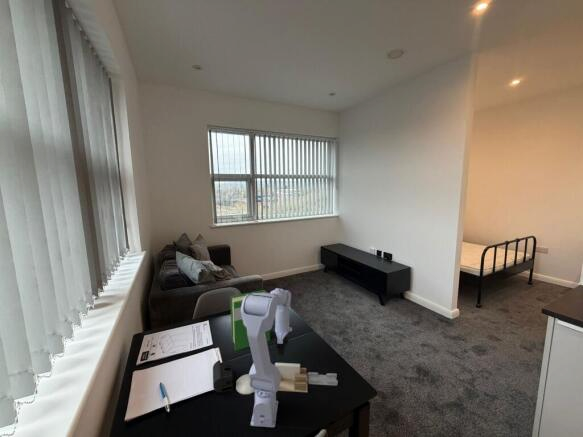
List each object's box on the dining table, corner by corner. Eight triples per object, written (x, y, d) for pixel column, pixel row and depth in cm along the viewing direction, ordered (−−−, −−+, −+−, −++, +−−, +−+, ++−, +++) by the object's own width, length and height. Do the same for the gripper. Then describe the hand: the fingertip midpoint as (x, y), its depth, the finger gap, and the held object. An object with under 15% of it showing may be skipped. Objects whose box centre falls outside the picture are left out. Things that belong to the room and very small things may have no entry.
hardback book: (235, 350, 116) (233, 302, 113) (231, 341, 122) (230, 296, 119) (269, 340, 123) (269, 295, 120) (264, 332, 130) (264, 289, 127)
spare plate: (256, 396, 91) (256, 393, 91) (232, 394, 92) (232, 391, 91) (261, 377, 100) (261, 374, 100) (239, 376, 101) (239, 373, 100)
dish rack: (307, 393, 92) (307, 385, 91) (265, 391, 93) (265, 382, 92) (307, 375, 101) (307, 367, 100) (269, 373, 102) (269, 365, 101)
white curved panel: (299, 379, 98) (299, 366, 97) (274, 377, 98) (274, 365, 97) (299, 376, 99) (299, 363, 98) (275, 374, 100) (275, 362, 99)
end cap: (213, 376, 100) (212, 361, 99) (230, 372, 102) (230, 357, 101) (213, 396, 91) (212, 379, 90) (233, 391, 93) (232, 374, 92)
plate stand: (337, 386, 95) (337, 382, 95) (307, 385, 96) (308, 381, 95) (336, 376, 100) (336, 372, 100) (307, 375, 101) (307, 371, 100)
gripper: (290, 329, 93) (290, 361, 94) (293, 309, 107) (293, 338, 109) (272, 328, 93) (272, 360, 95) (277, 309, 107) (277, 337, 109)
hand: (282, 348), depth 102 cm, fingers open, 7 cm apart
